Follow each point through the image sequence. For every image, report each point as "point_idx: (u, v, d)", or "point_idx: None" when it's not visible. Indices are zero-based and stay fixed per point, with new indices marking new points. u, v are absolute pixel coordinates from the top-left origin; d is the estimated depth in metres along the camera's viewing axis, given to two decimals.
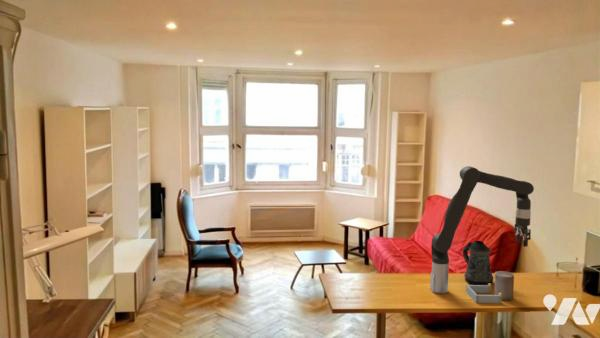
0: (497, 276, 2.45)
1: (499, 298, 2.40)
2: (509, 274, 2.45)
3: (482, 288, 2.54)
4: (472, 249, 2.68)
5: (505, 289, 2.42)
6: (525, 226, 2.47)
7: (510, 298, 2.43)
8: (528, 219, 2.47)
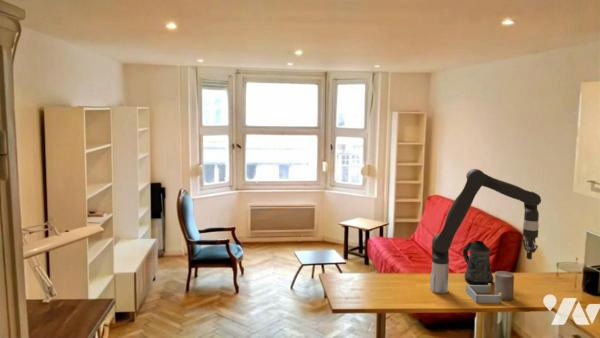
0: (497, 276, 2.45)
1: (499, 298, 2.40)
2: (509, 274, 2.45)
3: (482, 288, 2.54)
4: (472, 249, 2.68)
5: (505, 289, 2.42)
6: (533, 238, 2.40)
7: (510, 298, 2.43)
8: (536, 231, 2.40)
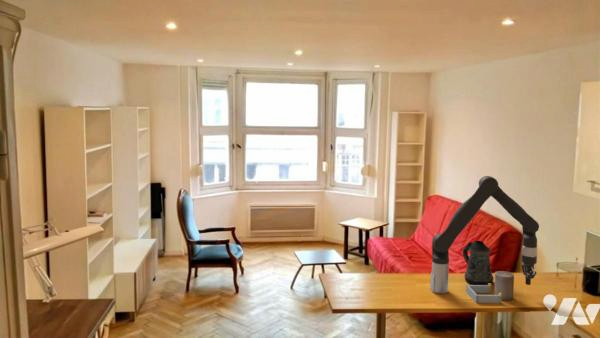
0: (497, 276, 2.45)
1: (499, 298, 2.40)
2: (509, 274, 2.45)
3: (482, 288, 2.54)
4: (472, 249, 2.68)
5: (505, 289, 2.42)
6: (531, 264, 2.41)
7: (510, 298, 2.43)
8: (534, 257, 2.41)
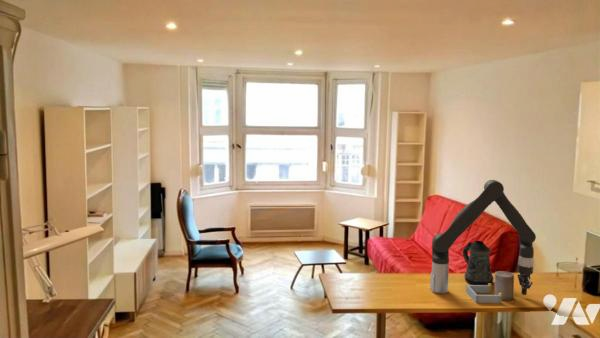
0: (497, 276, 2.45)
1: (499, 298, 2.40)
2: (509, 274, 2.45)
3: (482, 288, 2.54)
4: (472, 249, 2.68)
5: (505, 289, 2.42)
6: (528, 275, 2.42)
7: (510, 298, 2.43)
8: (531, 268, 2.42)
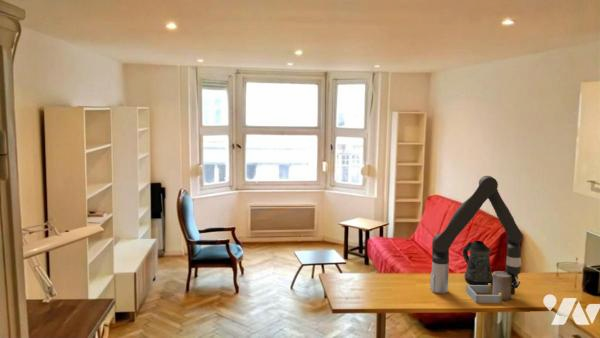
0: (495, 276, 2.45)
1: (499, 298, 2.40)
2: (507, 274, 2.45)
3: (482, 288, 2.54)
4: (472, 249, 2.68)
5: (503, 289, 2.42)
6: (515, 274, 2.42)
7: (508, 298, 2.43)
8: (518, 267, 2.42)
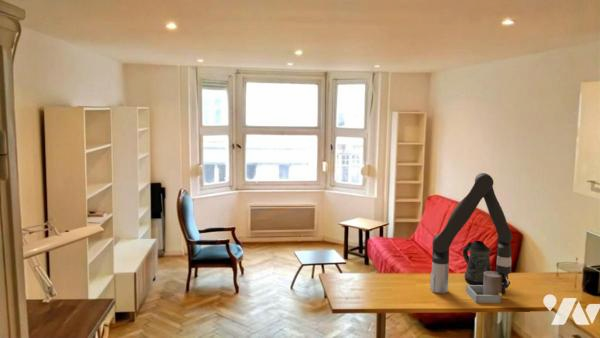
0: (485, 276, 2.45)
1: (499, 298, 2.40)
2: (498, 274, 2.45)
3: (482, 288, 2.54)
4: (472, 249, 2.68)
5: (494, 289, 2.42)
6: (506, 274, 2.42)
7: None
8: (509, 267, 2.42)
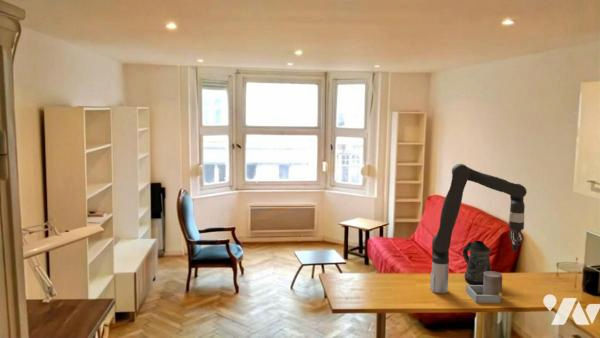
0: (485, 276, 2.45)
1: (499, 298, 2.40)
2: (498, 274, 2.45)
3: (482, 288, 2.54)
4: (472, 249, 2.68)
5: (494, 289, 2.42)
6: (518, 230, 2.39)
7: None
8: (522, 223, 2.39)
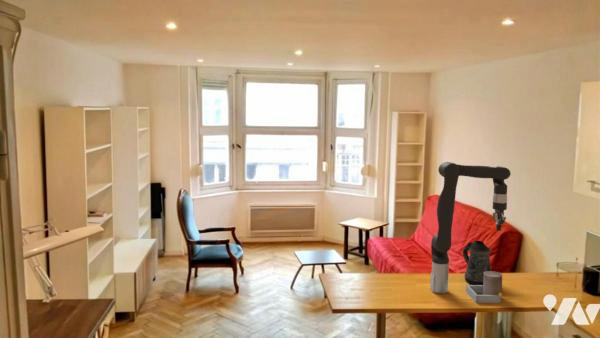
0: (485, 276, 2.45)
1: (499, 298, 2.40)
2: (498, 274, 2.45)
3: (482, 288, 2.54)
4: (472, 249, 2.68)
5: (494, 289, 2.42)
6: (501, 210, 2.52)
7: None
8: (504, 204, 2.51)
